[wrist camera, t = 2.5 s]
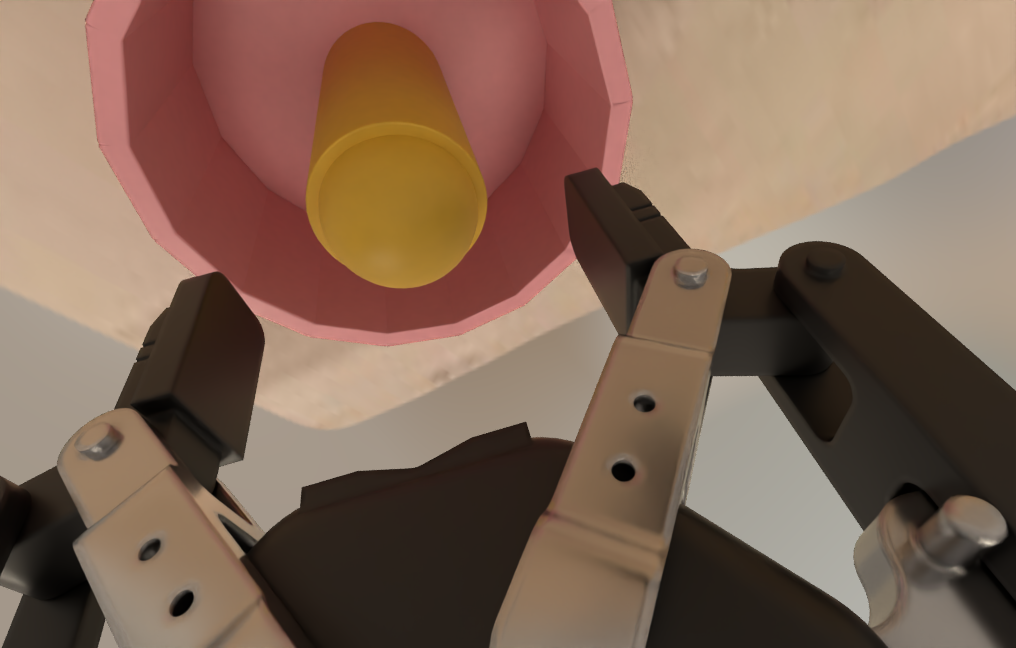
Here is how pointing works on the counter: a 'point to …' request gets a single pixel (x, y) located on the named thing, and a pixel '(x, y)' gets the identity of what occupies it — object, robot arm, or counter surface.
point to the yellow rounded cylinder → (391, 162)
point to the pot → (290, 131)
